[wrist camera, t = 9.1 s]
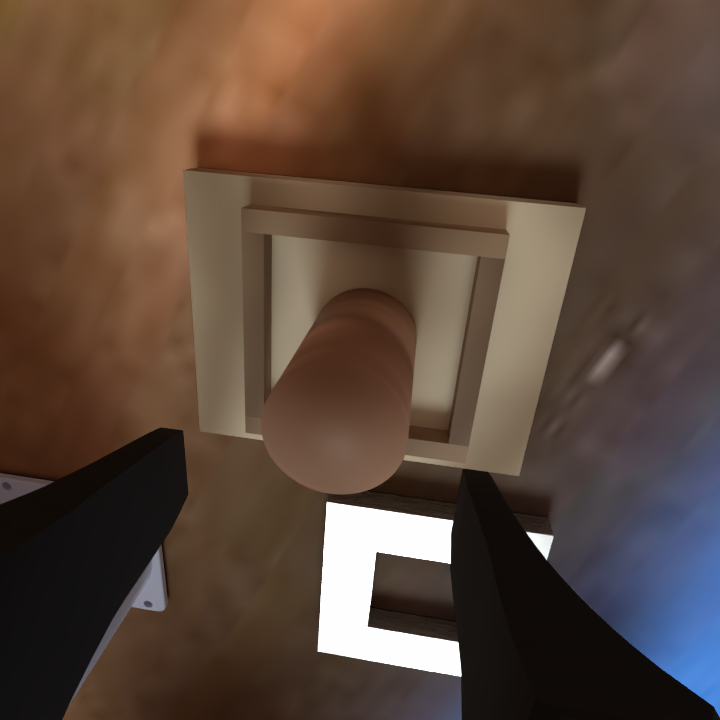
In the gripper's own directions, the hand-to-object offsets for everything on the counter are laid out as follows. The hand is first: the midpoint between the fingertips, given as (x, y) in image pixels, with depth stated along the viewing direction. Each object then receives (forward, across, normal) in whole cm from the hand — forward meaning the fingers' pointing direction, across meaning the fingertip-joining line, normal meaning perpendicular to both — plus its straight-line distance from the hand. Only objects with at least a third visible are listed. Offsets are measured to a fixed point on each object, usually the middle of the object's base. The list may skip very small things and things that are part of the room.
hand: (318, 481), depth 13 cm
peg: (+8, 0, -1) cm, 8 cm away
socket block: (+9, -4, +13) cm, 16 cm away
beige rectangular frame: (+9, 0, -1) cm, 9 cm away
